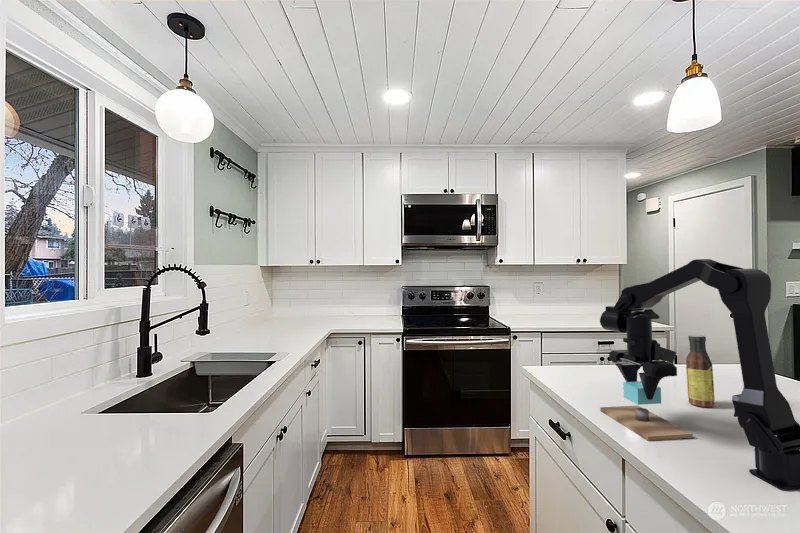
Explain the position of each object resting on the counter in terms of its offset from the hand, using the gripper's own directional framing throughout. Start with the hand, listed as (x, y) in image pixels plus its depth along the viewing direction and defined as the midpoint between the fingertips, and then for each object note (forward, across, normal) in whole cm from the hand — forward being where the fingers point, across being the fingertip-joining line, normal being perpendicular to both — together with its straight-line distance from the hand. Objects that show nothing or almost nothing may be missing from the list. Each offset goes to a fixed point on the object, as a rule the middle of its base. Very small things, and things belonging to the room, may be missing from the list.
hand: (641, 395), depth 103 cm
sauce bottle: (+7, +11, -25) cm, 28 cm away
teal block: (+1, 0, 0) cm, 1 cm away
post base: (+7, 0, 0) cm, 7 cm away
